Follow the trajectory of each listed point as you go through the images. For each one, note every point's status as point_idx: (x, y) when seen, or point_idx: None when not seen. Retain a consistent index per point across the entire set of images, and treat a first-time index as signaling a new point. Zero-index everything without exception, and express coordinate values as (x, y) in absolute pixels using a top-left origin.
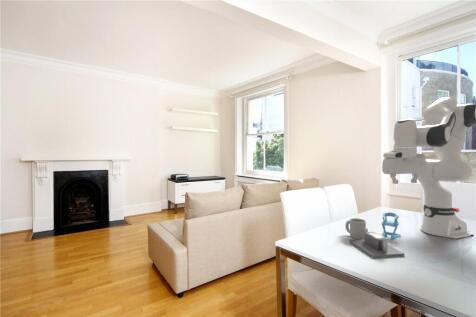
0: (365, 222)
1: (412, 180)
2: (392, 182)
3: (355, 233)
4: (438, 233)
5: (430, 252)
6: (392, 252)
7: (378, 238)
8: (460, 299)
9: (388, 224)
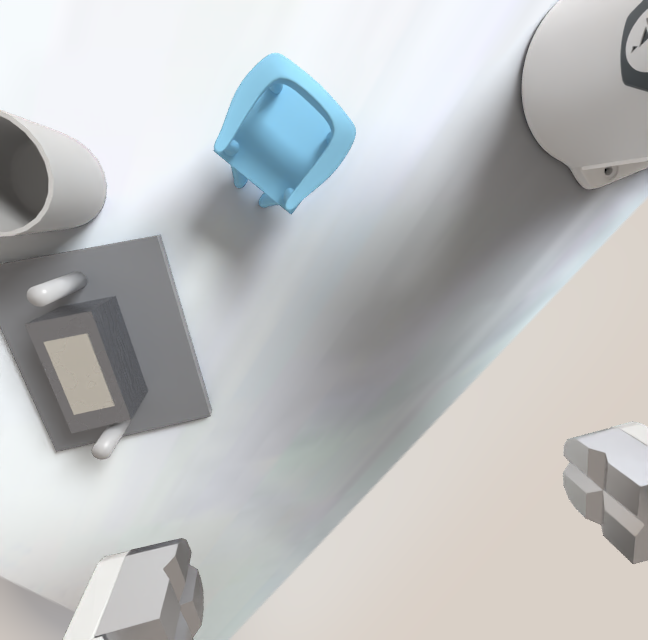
0: (47, 214)
1: (612, 500)
2: (97, 564)
3: (12, 218)
4: (555, 145)
5: (347, 360)
6: (161, 411)
7: (80, 420)
8: (217, 627)
9: (251, 179)
